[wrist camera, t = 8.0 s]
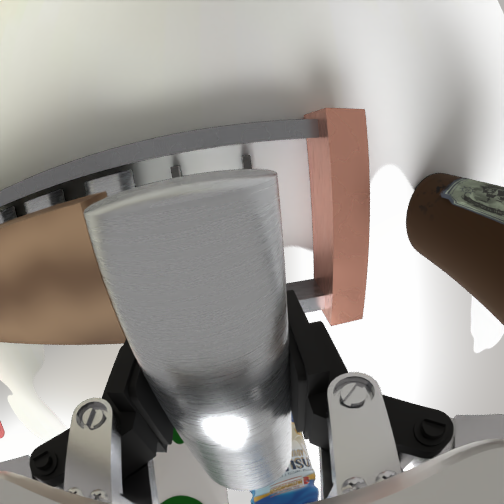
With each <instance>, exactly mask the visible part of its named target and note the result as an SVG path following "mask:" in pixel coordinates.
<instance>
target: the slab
mask: <svg viewBox="0 0 504 504" xmlns="http://www.w3.org/2000/svg"><path fill="white" fill-rule="evenodd" d="M106 197H107V194H106V191H104V192H100V193H96V194H92V195H88V196H85V197H81V198H78V199H74V200H70V201H67V202H64V203H60V204H57V205H54V206H51V207H47V208H44V209H41V210H38V211H35V212H32V213H29V214H26V215H23V216H20V217H18V218H15V219H12V220H9V221H7V222H4V223H1V224H0V342H7V343H24V344H52V345H54V344H55V345H58V344H59V345H85V344H87V345H89V344H121V343H125V340H126V336H125V334H124V331H123V329H122V327H121V324H120V322H119V320H118V317H117V315H116V312H115V310H114V307H113V305H112V302H111V300H110V297H109V294H108V292H107V289H106V286H105V283H104V280H103V277H102V275H101V272H100V269H99V265H98V262H97V259H96V256H95V253H94V249H93V246H92V243H91V239H90V235H89V232H88V228H87V224H86V220H85V216H84V210H85V209H86V208H87V207H89V206H90V205H92V204H93V203H95V202H97V201H99V200H102V199H104V198H106Z"/></svg>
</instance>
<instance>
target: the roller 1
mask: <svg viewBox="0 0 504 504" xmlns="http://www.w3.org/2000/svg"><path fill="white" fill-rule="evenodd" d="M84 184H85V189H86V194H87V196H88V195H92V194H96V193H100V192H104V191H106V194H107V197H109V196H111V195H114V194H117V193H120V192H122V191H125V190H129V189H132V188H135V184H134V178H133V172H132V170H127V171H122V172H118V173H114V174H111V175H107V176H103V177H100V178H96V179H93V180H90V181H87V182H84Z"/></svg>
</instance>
